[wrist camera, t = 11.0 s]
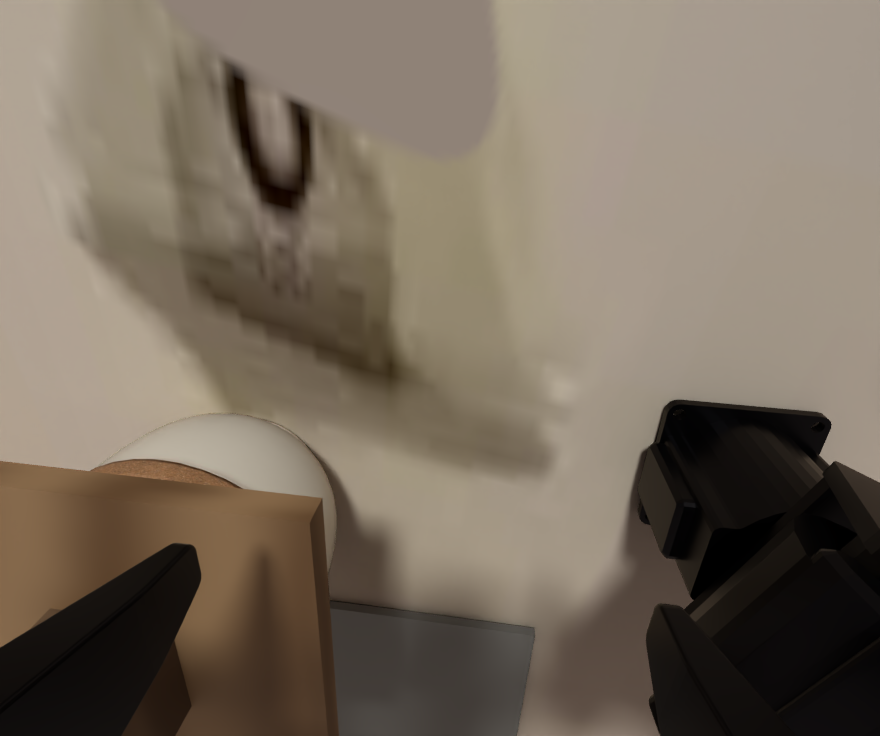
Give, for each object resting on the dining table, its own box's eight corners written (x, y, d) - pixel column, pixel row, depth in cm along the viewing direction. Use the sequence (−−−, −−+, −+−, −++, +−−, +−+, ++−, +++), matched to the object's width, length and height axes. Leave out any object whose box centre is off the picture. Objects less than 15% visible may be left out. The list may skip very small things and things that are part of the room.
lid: (322, 497, 14) (245, 647, 10) (341, 773, 19) (298, 940, 15) (-113, 448, 15) (-344, 562, 11) (24, 721, 21) (-94, 863, 17)
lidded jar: (222, 560, 29) (104, 734, 20) (124, 402, 25) (-72, 537, 16) (393, 532, 26) (340, 717, 18) (314, 352, 22) (199, 480, 14)
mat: (534, 627, 28) (534, 635, 28) (507, 776, 34) (507, 784, 34) (198, 583, 30) (194, 590, 29) (232, 731, 36) (228, 739, 36)
